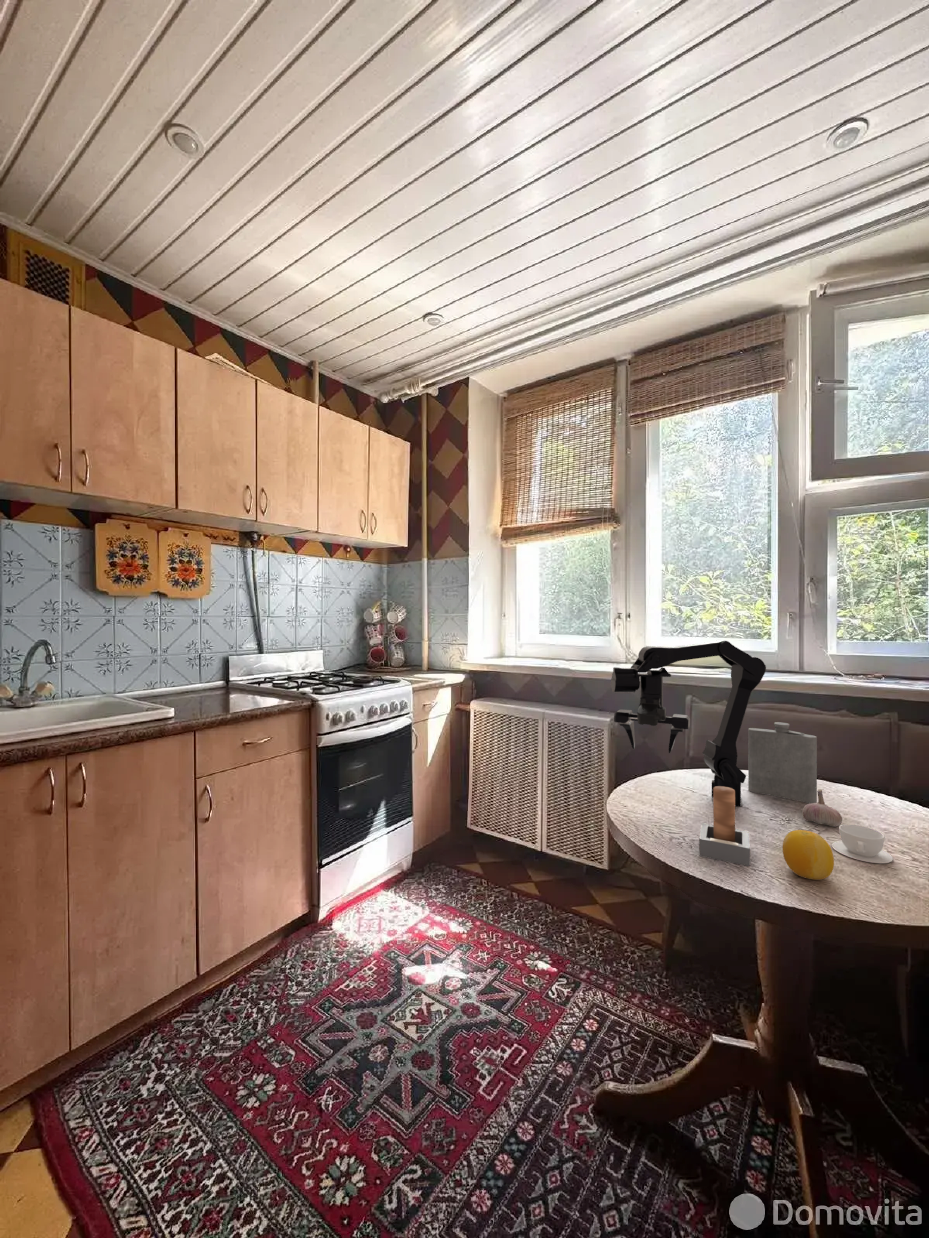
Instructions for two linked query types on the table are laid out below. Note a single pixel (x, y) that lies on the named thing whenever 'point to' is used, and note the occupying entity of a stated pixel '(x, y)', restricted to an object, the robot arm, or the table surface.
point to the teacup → (862, 844)
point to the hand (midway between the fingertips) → (651, 750)
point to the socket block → (724, 846)
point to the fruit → (808, 854)
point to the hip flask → (782, 763)
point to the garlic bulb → (821, 812)
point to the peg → (724, 813)
